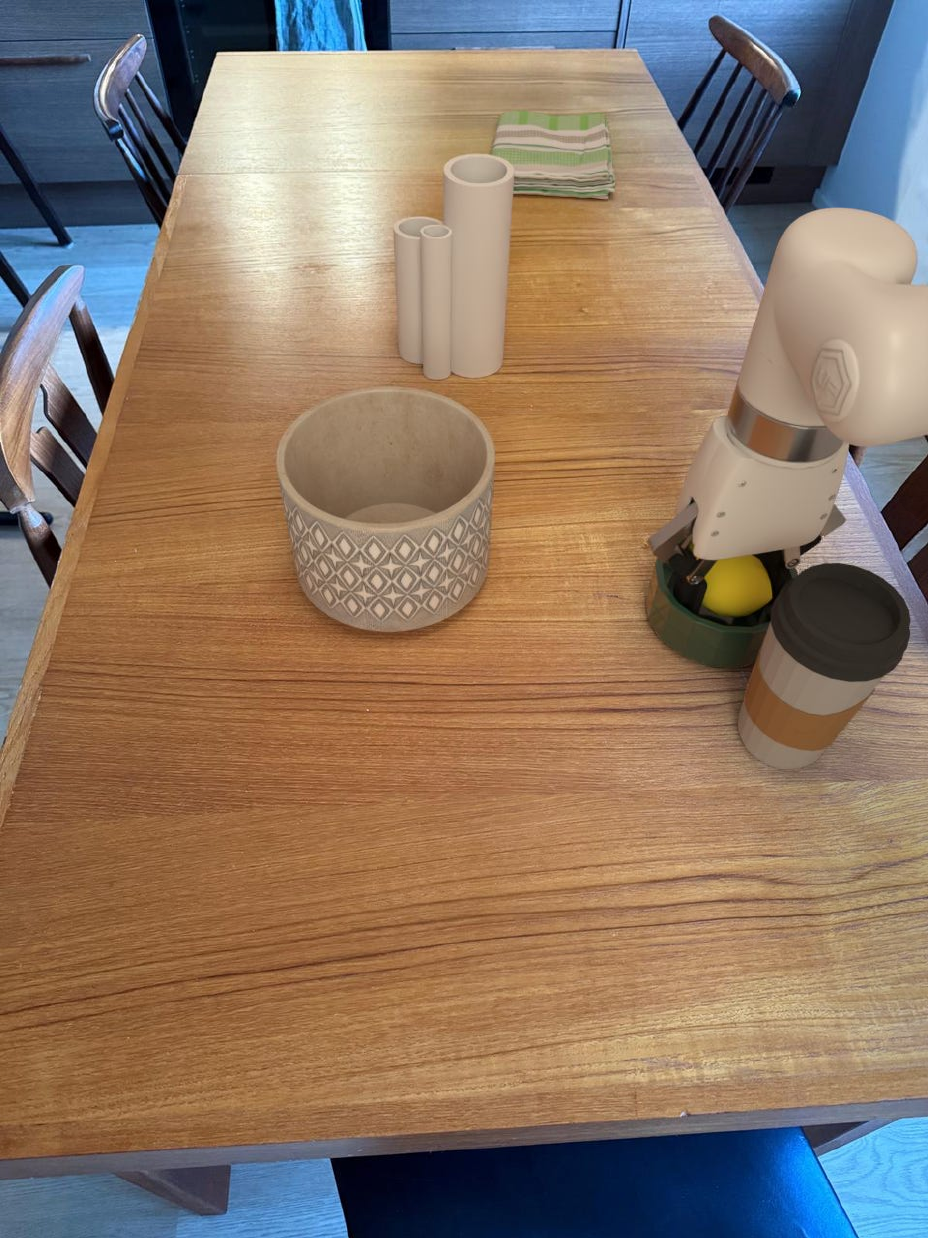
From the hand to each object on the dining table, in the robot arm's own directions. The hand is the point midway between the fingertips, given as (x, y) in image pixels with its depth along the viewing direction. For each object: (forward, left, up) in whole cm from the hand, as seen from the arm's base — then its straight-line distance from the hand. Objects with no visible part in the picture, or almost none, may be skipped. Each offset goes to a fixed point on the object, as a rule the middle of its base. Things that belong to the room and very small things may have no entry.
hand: (723, 596), depth 72 cm
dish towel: (+67, -51, -3) cm, 85 cm away
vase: (+41, -8, -3) cm, 42 cm away
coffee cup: (-10, +5, -3) cm, 12 cm away
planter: (+22, +16, -3) cm, 28 cm away
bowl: (0, 0, -3) cm, 3 cm away
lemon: (0, 0, -1) cm, 1 cm away
